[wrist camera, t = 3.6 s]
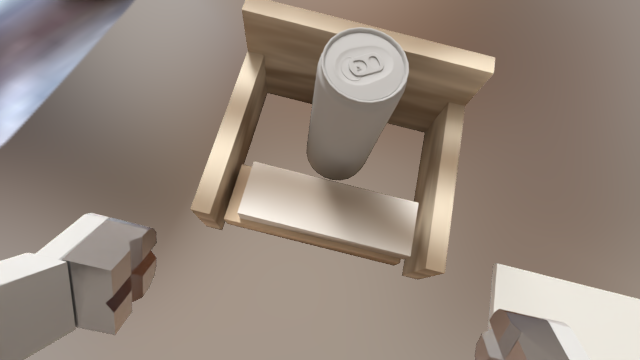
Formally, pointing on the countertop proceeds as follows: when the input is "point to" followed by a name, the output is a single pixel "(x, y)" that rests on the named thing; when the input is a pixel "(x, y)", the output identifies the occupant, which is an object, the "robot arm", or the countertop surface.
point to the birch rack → (298, 83)
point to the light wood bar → (323, 213)
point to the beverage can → (353, 99)
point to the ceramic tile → (572, 310)
